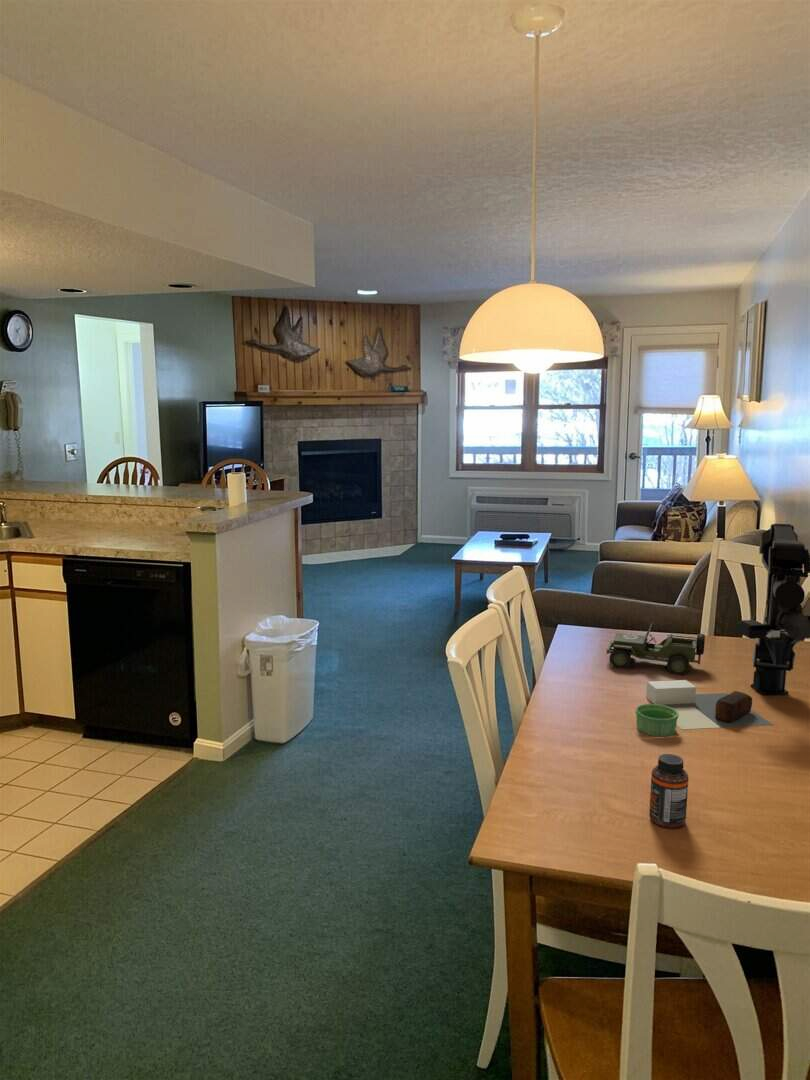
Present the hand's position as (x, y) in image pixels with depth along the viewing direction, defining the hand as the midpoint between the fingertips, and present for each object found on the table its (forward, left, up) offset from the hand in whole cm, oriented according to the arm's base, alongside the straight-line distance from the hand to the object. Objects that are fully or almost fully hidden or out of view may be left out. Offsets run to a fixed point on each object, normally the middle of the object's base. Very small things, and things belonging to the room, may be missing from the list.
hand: (778, 664), depth 178 cm
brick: (+10, 0, -12) cm, 16 cm away
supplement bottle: (+46, +42, -12) cm, 63 cm away
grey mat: (+14, -4, -12) cm, 19 cm away
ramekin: (+31, +5, -12) cm, 34 cm away
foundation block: (+20, -11, -12) cm, 26 cm away
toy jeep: (+12, -37, -12) cm, 41 cm away
